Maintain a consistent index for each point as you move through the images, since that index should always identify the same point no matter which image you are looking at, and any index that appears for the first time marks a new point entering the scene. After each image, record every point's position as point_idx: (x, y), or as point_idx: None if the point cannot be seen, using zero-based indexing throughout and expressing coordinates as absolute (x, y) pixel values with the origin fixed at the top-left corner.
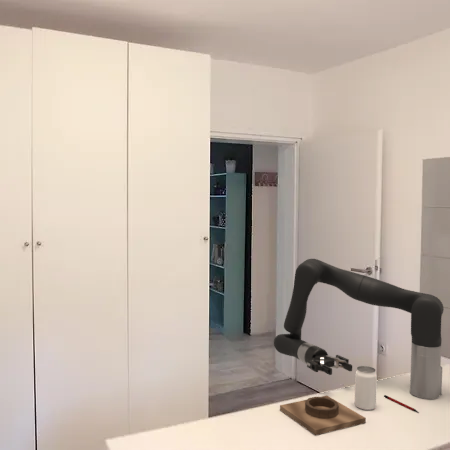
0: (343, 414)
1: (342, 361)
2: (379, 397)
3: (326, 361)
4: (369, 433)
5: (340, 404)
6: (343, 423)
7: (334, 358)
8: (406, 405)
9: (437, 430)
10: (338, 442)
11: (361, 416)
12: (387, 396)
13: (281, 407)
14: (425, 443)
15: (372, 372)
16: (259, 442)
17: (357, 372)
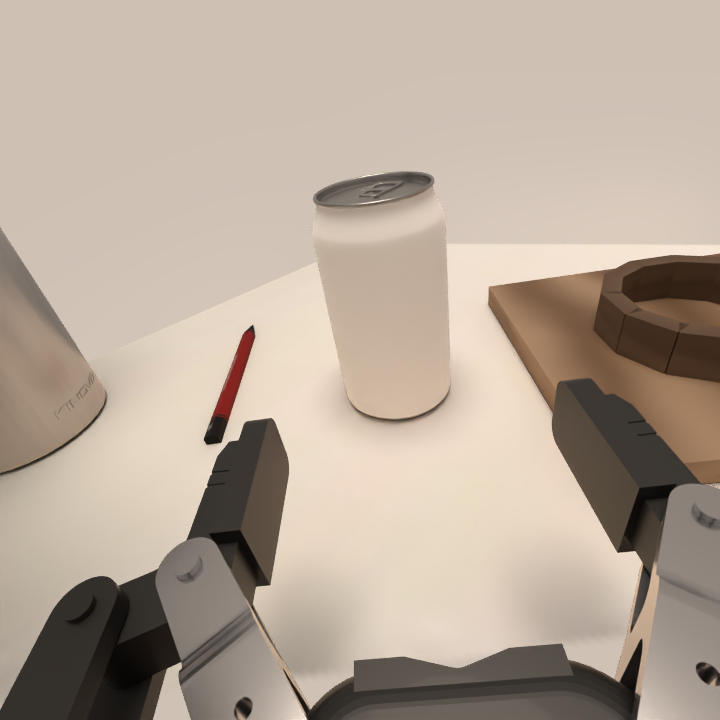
0: (573, 306)
1: (227, 565)
2: None
3: (550, 680)
4: (511, 271)
5: (551, 364)
6: (598, 271)
7: (291, 691)
8: (241, 350)
9: (311, 272)
10: (639, 251)
11: (500, 292)
12: (216, 421)
13: None
14: None
15: (369, 180)
16: None
17: (438, 201)
